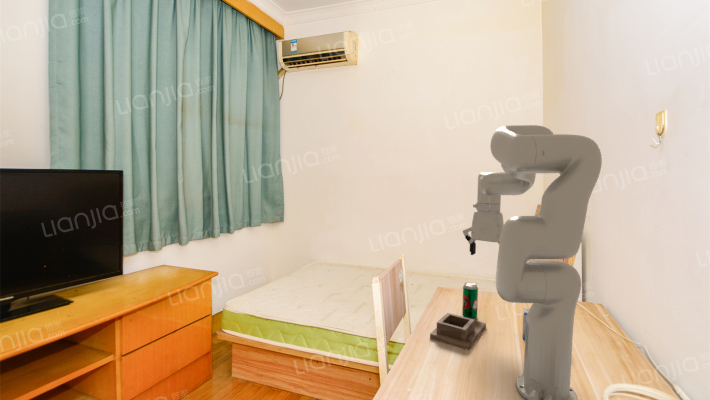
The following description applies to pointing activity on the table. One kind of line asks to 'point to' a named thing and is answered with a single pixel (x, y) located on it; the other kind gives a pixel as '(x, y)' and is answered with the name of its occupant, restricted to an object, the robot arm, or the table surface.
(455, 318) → the can stand
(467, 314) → the soda can
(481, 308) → the table surface
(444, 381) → the table surface
